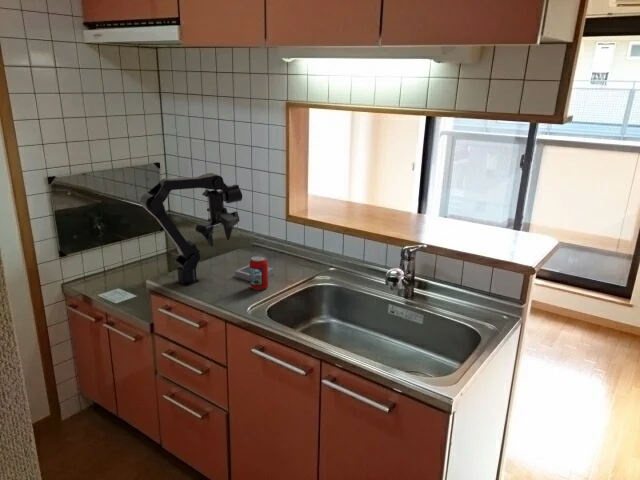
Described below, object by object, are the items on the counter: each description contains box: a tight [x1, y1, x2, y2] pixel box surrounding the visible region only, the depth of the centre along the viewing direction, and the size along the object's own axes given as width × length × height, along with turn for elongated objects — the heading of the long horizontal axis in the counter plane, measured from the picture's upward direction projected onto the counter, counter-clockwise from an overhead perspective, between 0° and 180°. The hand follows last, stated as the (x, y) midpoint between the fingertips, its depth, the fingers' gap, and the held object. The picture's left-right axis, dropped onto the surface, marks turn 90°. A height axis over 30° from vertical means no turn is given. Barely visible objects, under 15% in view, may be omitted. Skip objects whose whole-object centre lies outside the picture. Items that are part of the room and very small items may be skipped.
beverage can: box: [249, 255, 269, 291], centre depth 189 cm, size 7×7×12 cm
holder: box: [234, 264, 274, 282], centre depth 202 cm, size 11×11×2 cm
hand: (220, 243), depth 200 cm, fingers open, 9 cm apart
